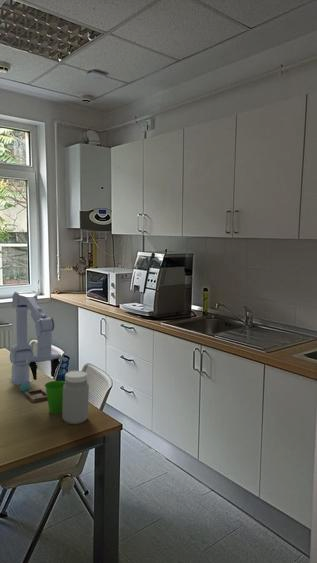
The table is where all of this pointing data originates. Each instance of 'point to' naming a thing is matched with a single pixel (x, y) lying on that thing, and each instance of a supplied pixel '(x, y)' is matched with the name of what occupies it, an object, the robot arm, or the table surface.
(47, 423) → the table surface
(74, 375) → the jar
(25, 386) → the ball
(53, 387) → the cup
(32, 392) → the tray
